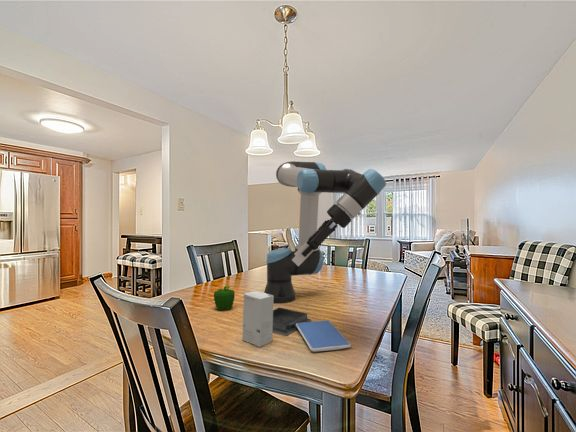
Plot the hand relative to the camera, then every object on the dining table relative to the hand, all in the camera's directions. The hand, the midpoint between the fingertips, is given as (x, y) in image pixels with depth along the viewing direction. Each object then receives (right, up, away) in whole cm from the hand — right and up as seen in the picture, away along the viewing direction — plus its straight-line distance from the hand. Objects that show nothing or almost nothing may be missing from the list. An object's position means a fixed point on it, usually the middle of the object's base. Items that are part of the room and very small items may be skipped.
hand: (295, 259), depth 92 cm
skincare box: (-12, -26, 0) cm, 28 cm away
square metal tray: (-5, -25, +14) cm, 30 cm away
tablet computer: (+8, -25, +2) cm, 27 cm away
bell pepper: (-30, -26, +33) cm, 51 cm away
